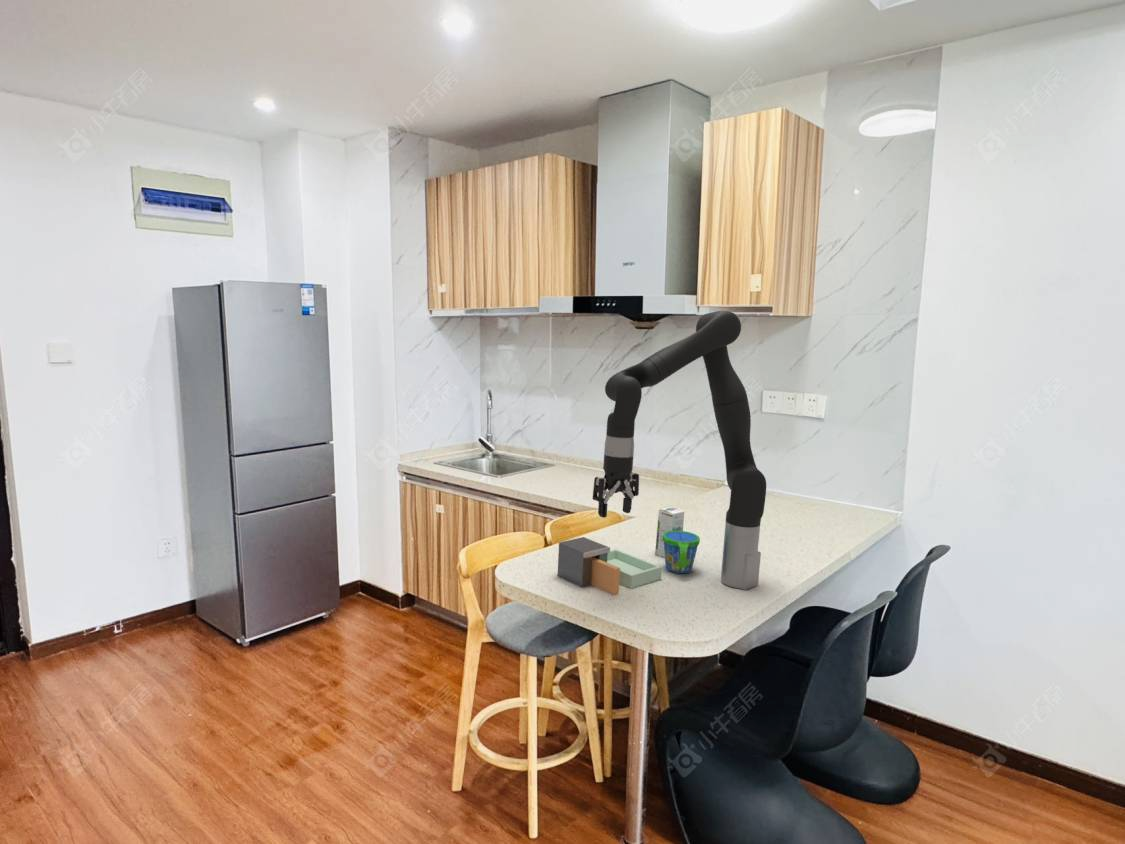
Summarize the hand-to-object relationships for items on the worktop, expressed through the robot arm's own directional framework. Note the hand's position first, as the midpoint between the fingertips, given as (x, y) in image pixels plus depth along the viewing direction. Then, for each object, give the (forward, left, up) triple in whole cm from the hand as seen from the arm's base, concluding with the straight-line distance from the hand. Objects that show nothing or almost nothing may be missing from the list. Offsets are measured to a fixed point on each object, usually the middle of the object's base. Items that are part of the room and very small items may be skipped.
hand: (614, 514), depth 173 cm
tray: (+7, -11, -21) cm, 24 cm away
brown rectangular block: (+2, +1, -21) cm, 21 cm away
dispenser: (+11, +1, -21) cm, 23 cm away
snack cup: (0, -27, -21) cm, 34 cm away
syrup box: (+10, -34, -21) cm, 41 cm away
